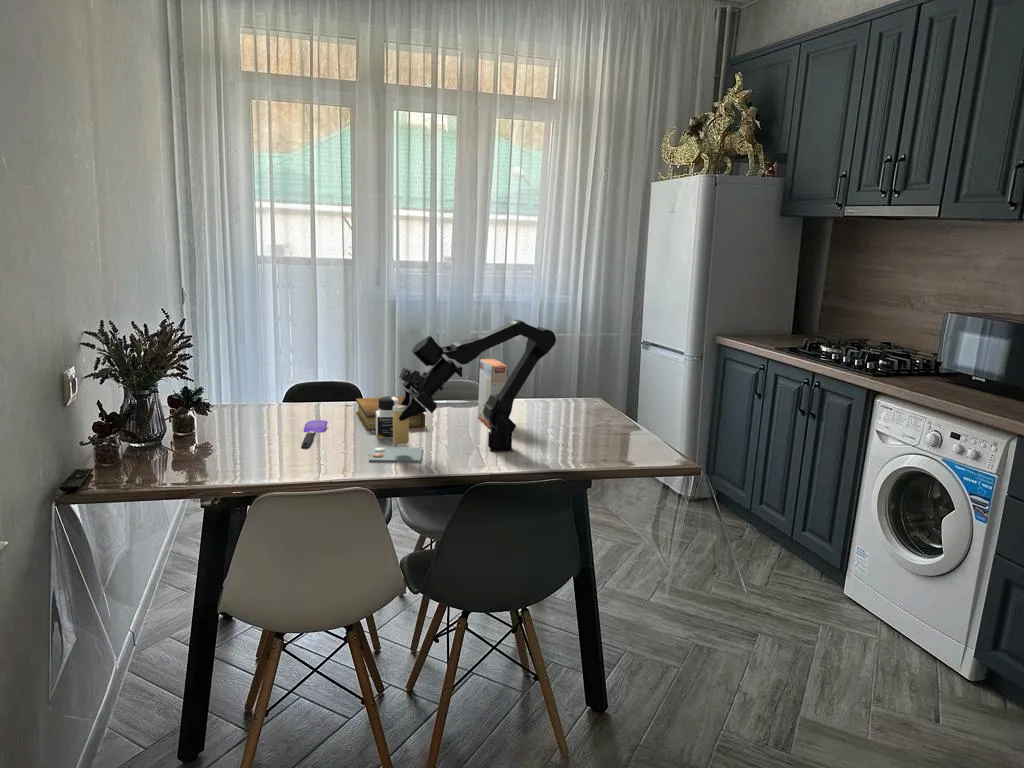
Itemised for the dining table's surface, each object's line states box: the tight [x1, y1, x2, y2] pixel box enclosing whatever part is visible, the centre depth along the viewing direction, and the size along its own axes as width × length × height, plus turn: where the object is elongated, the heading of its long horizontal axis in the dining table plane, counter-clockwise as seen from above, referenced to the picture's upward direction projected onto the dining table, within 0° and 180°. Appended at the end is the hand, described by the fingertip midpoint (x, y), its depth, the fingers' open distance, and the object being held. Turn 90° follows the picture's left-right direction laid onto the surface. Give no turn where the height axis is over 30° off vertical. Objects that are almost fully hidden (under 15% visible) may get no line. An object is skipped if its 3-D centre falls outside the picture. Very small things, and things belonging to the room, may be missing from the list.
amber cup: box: [392, 405, 410, 445], centre depth 195 cm, size 5×5×10 cm
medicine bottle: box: [375, 396, 399, 440], centre depth 215 cm, size 7×7×12 cm
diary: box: [355, 396, 426, 432], centre depth 233 cm, size 23×19×6 cm
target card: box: [368, 446, 423, 464], centre depth 197 cm, size 14×12×1 cm
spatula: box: [300, 419, 329, 449], centre depth 211 cm, size 24×7×2 cm, turn 7°
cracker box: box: [477, 358, 509, 429], centre depth 234 cm, size 14×6×21 cm, turn 18°
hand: (397, 417), depth 194 cm, fingers closed on amber cup, 4 cm apart
